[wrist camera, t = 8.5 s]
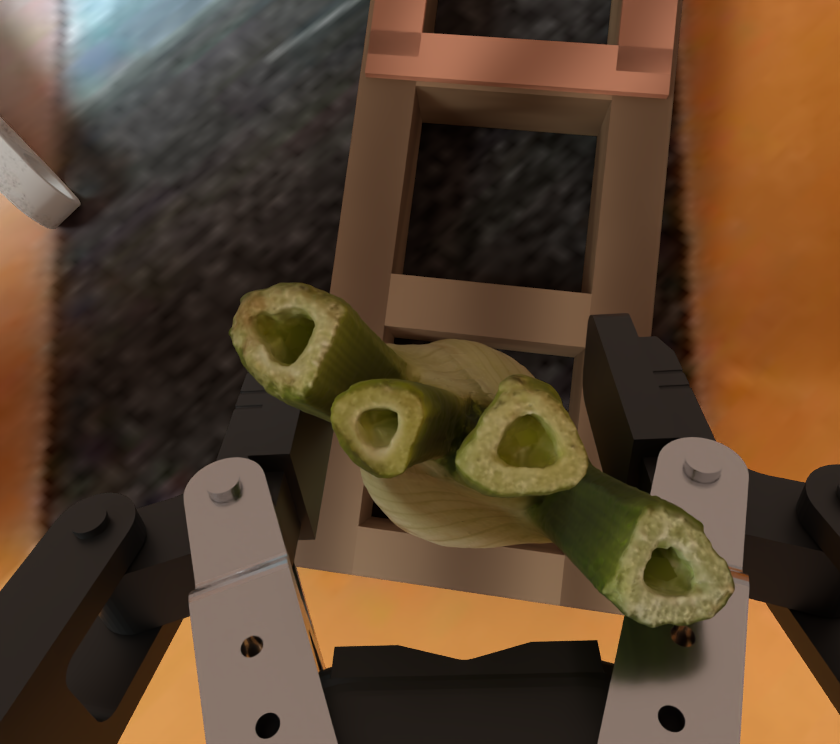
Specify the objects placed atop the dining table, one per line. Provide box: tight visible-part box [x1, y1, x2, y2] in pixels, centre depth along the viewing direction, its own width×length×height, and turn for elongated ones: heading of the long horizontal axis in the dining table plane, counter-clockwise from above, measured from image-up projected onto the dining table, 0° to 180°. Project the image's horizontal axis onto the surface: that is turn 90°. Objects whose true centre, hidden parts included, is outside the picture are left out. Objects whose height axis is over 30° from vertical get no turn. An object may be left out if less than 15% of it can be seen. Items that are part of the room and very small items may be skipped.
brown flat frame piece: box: [294, 0, 683, 615], centre depth 26 cm, size 12×30×3 cm, turn 173°
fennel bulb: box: [229, 283, 735, 628], centre depth 12 cm, size 6×5×12 cm
